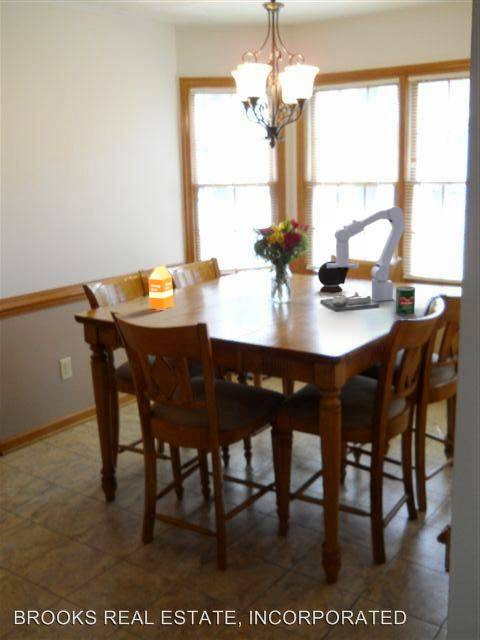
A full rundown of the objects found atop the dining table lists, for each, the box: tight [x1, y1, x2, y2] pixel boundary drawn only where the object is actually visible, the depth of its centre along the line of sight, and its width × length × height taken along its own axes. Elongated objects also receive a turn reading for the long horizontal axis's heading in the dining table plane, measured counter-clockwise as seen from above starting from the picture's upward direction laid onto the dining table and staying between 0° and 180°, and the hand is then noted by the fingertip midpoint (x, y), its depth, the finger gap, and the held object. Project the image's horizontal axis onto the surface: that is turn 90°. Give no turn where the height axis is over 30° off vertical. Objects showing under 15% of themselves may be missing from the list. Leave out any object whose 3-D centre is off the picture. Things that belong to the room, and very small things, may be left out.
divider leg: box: [345, 291, 360, 303], centre depth 317 cm, size 11×2×3 cm, turn 139°
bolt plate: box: [319, 294, 380, 312], centre depth 316 cm, size 21×19×6 cm
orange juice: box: [147, 264, 175, 309], centre depth 323 cm, size 8×9×20 cm
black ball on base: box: [317, 261, 343, 294], centre depth 349 cm, size 13×13×15 cm
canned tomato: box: [395, 285, 416, 316], centre depth 296 cm, size 8×8×11 cm
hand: (342, 283), depth 323 cm, fingers closed
